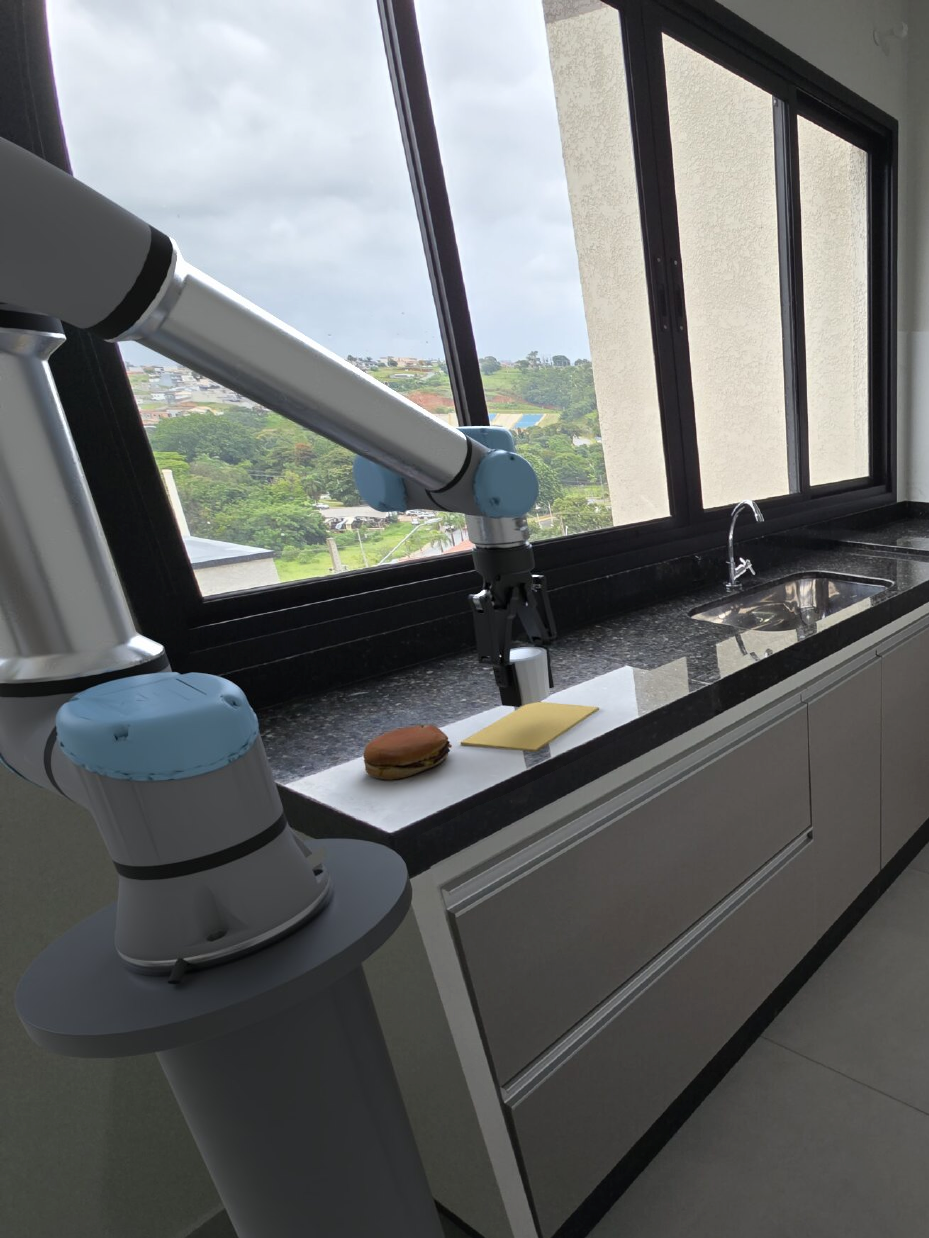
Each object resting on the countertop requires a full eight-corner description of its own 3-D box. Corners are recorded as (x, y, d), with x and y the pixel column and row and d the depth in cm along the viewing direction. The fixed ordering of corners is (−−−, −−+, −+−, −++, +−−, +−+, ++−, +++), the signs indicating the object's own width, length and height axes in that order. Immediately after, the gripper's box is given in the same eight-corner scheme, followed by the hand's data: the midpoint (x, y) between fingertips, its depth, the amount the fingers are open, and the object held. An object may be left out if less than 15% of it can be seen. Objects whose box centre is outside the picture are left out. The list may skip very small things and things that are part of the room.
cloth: (536, 752, 105) (535, 749, 105) (460, 744, 107) (460, 742, 107) (599, 709, 120) (598, 706, 120) (531, 703, 122) (531, 701, 121)
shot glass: (520, 709, 107) (511, 664, 105) (494, 699, 111) (485, 655, 108) (563, 694, 113) (556, 651, 110) (537, 685, 116) (529, 643, 114)
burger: (353, 783, 96) (344, 750, 94) (388, 752, 104) (380, 722, 103) (436, 778, 97) (429, 746, 95) (464, 748, 106) (457, 718, 104)
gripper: (474, 558, 94) (507, 724, 102) (568, 532, 112) (589, 675, 120) (422, 555, 95) (458, 719, 103) (523, 530, 113) (547, 672, 121)
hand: (528, 695), depth 112 cm, fingers closed on shot glass, 7 cm apart
